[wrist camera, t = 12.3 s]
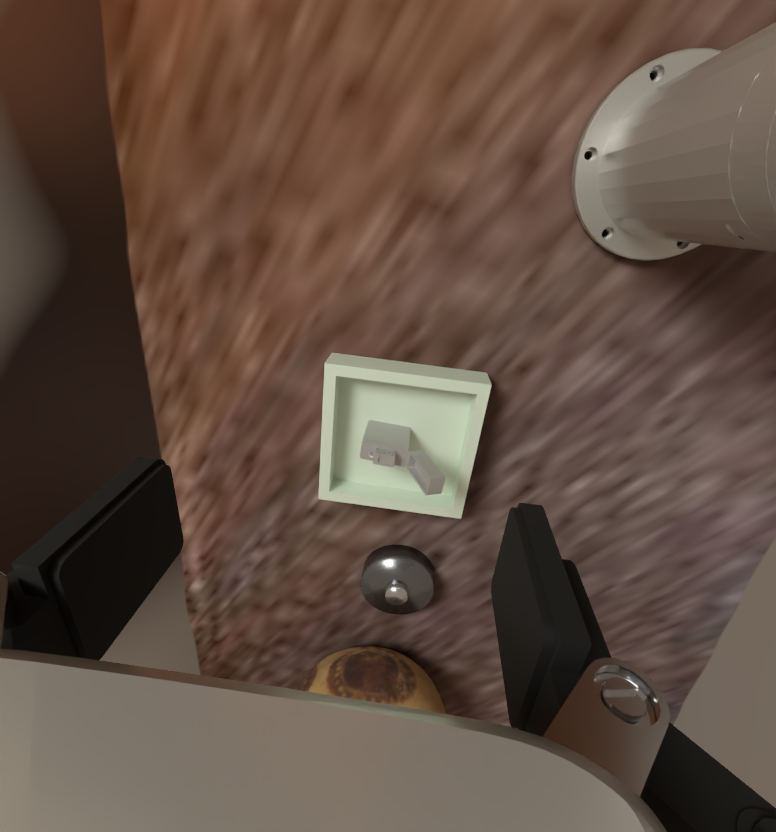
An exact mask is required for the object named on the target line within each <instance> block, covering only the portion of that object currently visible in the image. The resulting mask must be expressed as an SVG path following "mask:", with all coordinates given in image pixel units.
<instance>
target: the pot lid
mask: <svg viewBox="0 0 776 832" xmlns="http://www.w3.org/2000/svg"><path fill="white" fill-rule="evenodd" d="M361 591H362V594H363V596H364V597H365V599H366V600H367V601H368V602H369V603H370V604H371V605H372V606H374V607H375V608H377V609H379V610H381V611H384V612H387V613H391V614H409V613H413V612H416V611H418V610H420V609H422V608H424V607H425V606H426V605H427V604H428V603H429V602H430V600H431V598H432V596H433V592H434V580H433V567H432V564H431V562H430V561H429V559H428V558H427V557H426V556H425V555H424V554H423V553H421V552H420V551H418V550H416V549H414V548H412V547H408V546H404V545H388V546H384V547H381V548H379V549H377V550H375V551H373V552H372V553H371V554H370V555H369V556H368V557H367V559H366V561H365V564H364V569H363V574H362V580H361Z"/></svg>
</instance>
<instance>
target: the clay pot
mask: <svg viewBox="0 0 776 832" xmlns="http://www.w3.org/2000/svg"><path fill="white" fill-rule="evenodd" d="M298 690H300V691H307V692H313V693H320V694H326V695H332V696H339V697H345V698H351V699H358V700H364V701H370V702H377V703H383V704H389V705H396V706H402V707H408V708H414V709H420V710H426V711H431V712H437V713H443V714H446V712H445V708H444V706H443V703H442V700H441V698H440V695H439V693H438V691H437V689H436V687H435V685H434V684H433V682H432V680H431V679H430V677H429V676H428V675H427V674H426V672H425V671H424V670H423V669H422V668H421V667H420V666H419V665H417V664H416V663H415V662H414V661H412V660H411V659H410V658H408V657H406V656H405V655H403V654H401V653H398V652H396V651H394V650H391V649H387V648H382V647H375V646H360V647H353V648H348V649H344V650H341V651H338V652H335V653H333V654H331V655H329V656H327V657H326V658H325V659H323V660H322V661H320V662H319V663H318V664H317V665H316V666H315V667H314V668H313V669H312V670H311V671H310V672H309V673H308V674H307V676H306V677H305V678H304V680H303V682H302V683H301V685H300V686H299V688H298Z"/></svg>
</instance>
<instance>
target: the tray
mask: <svg viewBox="0 0 776 832" xmlns="http://www.w3.org/2000/svg"><path fill="white" fill-rule="evenodd" d="M491 386H492V385H491V382H490V379H489V377H488V374H487V373H484V372H477V371H469V370H461V369H454V368H446V367H438V366H431V365H423V364H415V363H407V362H400V361H392V360H384V359H377V358H369V357H361V356H354V355H346V354H338V353H331V355H330V356H329V358H328V359H327V361H326V362H325V369H324V390H323V412H322V434H321V455H320V477H319V499H323V500H330V501H337V502H344V503H351V504H358V505H365V506H373V507H380V508H387V509H394V510H401V511H408V512H416V513H423V514H430V515H437V516H444V517H451V518H458V519H461V517H462V512H463V508H464V504H465V499H466V495H467V490H468V486H469V482H470V477H471V473H472V469H473V464H474V460H475V456H476V451H477V447H478V442H479V438H480V434H481V429H482V425H483V421H484V416H485V412H486V408H487V403H488V399H489V394H490V390H491ZM369 420H374V421H379V422H385V423H390V424H395V425H401V426H406V427H410V428H411V440H410V451H425V452H426V453H427V454H428V456H429V457H430V458H431V459H432V461H433V462H434V463H435V464H436V466H437V467H438V468H439V469H440V471H441V472H442V473H443V474H444V476H445V482H444V486H443V490H442V493H441V494H433V495H425V494H424V493H423V491H422V490H421V488H420V487H419V485H418V484H417V482H416V481H415V480H414V478H413V477H412V475H411V474H410V472H409V471H408V469H407V467H406V466H405V467H402V466H397V465H394V467H387V466H382V465H377V464H373V461H370V460H365V459H361V458H360V451H361V445H362V441H363V437H364V434H365V430H366V427H367V423H368V421H369Z"/></svg>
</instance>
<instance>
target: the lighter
mask: <svg viewBox="0 0 776 832" xmlns="http://www.w3.org/2000/svg"><path fill="white" fill-rule="evenodd" d="M410 440H411V428H410V427H406V426H401V425H395V424H390V423H385V422H379V421H374V420H369V421H368V423H367V427H366V430H365V434H364V437H363V441H362V445H361V451H360V458H361V459H365V460H370V461H373V464H377V465H382V466H387V467H394V465H397V466H402V467H405V466H406V467H407V469H408V471H409V472H410V474H411V475H412V477H413V478H414V480H415V481H416V482H417V484H418V485H419V487H420V488H421V490H422V491H423V493H424V494H425V495H433V494H441V493H442V490H443V486H444V482H445V476H444V474H443V473H442V472H441V471H440V469H439V468H438V467H437V466H436V464H435V463H434V462H433V461H432V459H431V458H430V457H429V456H428V454H427V453H426V452H425V451H410Z"/></svg>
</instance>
